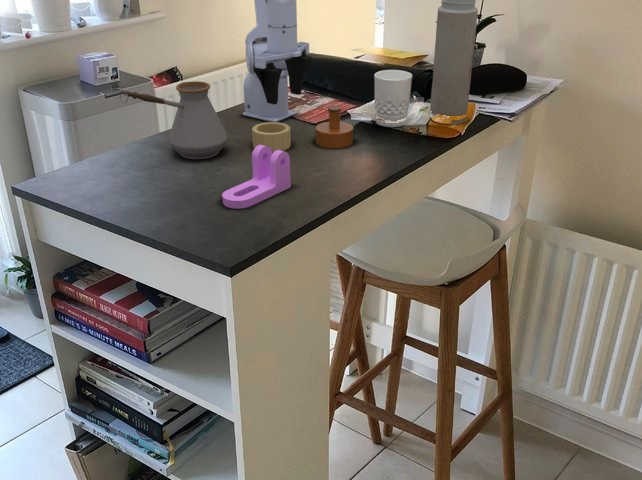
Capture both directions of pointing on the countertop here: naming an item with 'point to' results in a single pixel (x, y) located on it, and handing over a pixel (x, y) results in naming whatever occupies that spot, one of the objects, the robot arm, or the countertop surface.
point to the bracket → (261, 179)
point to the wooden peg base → (334, 131)
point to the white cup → (392, 96)
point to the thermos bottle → (453, 58)
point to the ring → (272, 135)
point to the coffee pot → (192, 121)
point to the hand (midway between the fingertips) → (284, 98)
